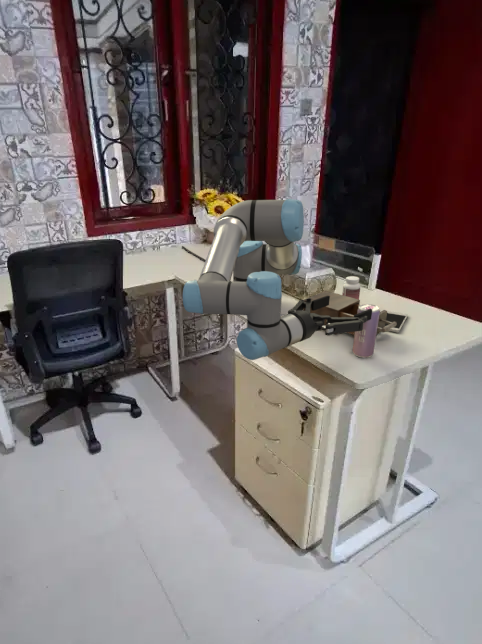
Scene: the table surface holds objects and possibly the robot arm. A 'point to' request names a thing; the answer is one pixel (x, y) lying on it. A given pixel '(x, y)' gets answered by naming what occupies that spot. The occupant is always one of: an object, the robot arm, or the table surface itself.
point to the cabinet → (333, 304)
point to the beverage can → (366, 333)
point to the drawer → (381, 322)
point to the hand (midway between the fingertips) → (348, 306)
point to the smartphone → (396, 320)
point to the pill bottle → (351, 287)
